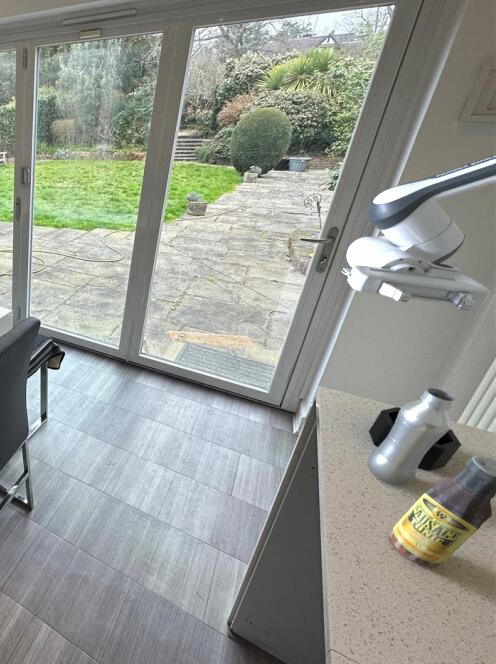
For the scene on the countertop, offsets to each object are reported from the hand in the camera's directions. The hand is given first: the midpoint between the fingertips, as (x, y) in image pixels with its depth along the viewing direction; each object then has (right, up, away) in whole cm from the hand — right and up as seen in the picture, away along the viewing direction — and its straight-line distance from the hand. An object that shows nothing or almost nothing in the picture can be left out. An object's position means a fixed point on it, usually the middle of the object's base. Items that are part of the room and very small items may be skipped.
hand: (436, 302), depth 74 cm
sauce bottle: (-13, -40, -9) cm, 43 cm away
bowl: (+6, -31, +11) cm, 33 cm away
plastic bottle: (-5, -34, +5) cm, 34 cm away
